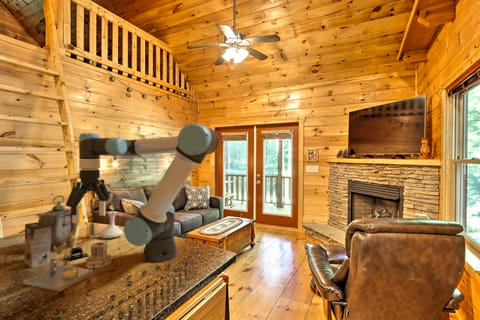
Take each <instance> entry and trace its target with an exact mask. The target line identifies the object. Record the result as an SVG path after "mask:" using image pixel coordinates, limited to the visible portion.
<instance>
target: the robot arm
mask: <svg viewBox="0 0 480 320" xmlns="http://www.w3.org/2000/svg"><path fill="white" fill-rule="evenodd" d="M219 145H220V137H219V135H218V133H217V132H216V131H215V130H214V129H212V128H210V127H207V126H205V125H203V124H200V123H190V124H187V125H185V126H184V127H183V128H182V129H181V130H180V131H179V133H178V134H177V135H175V136H174V135H172V136H161V137H149V138H137V139H136V138H135V139H124V138H123V137H114V136H113V137H101V136H100V134H99V133H94V132H82V133H80V134H79V138H78V154H79V155H78V157H79V158H78V159H79V160H78V161H79V163H78V167H79V171H78V176H79V177H78V178H79V180H80V181H73V184H72V189H71V191H70V193H69V196H68V198H67V201H66V203H65V206H66V207H69V208H70V209H71V215H72V223H77V224H80V206H79V204H80V203H81V201H82V199H83V198H84V196H86V194H87V193H88V192H94V194H95V195H96V196H97V197H98V198H99V201H98V215H99V216H100V217H101V216H104V217H105V216H106V209H107V206H106V201H108V199H109V198H110V196H109V194H110V193H109V191H108V189H107V187H106V184H105V179H100V176H101V173H100V172H101V171H100V168H101V163H100V161H101V158H100V157H101V156H105V157H107V156H108V157H109V156H112V157H117V156H118V157H120V156H121V157H125V156H126V157H137V156H147V155H149V156H150V155H162V154H163V155H164V154H175V156H174V158H173V160H172V161H171V163H170V164H169V166H168V167H167V168H166V171H165V172H164V174H163V176H162V178H161V179H160V181H159V182H158V184H157V186H156V188H155V190H154V191H153V192H152V194H151V196H150V198H149V199H148V201H147V202H146V203H144V204H142V205H140V207H139V208H138V209H137V211H136V213H135V214H134V216H131V217H129V218H128V219H127V220H126V221H125V223H124V225H123V234H124V237H125V239H126V240H127V242H129V243H130V244H131V245H133V246H135V247H142V246H144V248H143V251H142V258H143V259H144V260H145V261H147V262H157V263H158V262H160V263H161V262H166V261H169V260H172V259H174V258H176V257H177V256H178V247H177V243H176V239H175V216H176V213H175V207H174V206H173V205H172V204H173V203H174V201H175V199H176V198H177V196H178V195H179V193H180V191H181V189H182V188H183V186H184V185H185V183H186V181H187V180H188V178H189V177H190V175H191V174H192V172H193V170H194V169H195V167H196V166H199V165H201V164H203V161H204V160H205V158H206V156H208V155H212V154H213V153H215V152H216V151H217V150H218V148H219Z"/></svg>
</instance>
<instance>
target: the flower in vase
mask: <svg viewBox="0 0 480 320" xmlns="http://www.w3.org/2000/svg"><path fill="white" fill-rule="evenodd" d="M108 194H109V196H110V198H109V199H108V201H106V207H107V206H108V204H109V203H110V206H109V209H110V210H111V211H107V214H108V218H109V225H108V226H107V228H105V229H104V230H102V232H100V233H99V235H100V237H101V238H103V239H114V238H119V237H120V236H122V235H123V234H124V230H122V229H121V228H119V227H118V226H116V223H115V218H116V215H117V213H118V211H114V210H115V207H114V205H113V202H112V199H113V192H111V193H110V192H109V193H108Z"/></svg>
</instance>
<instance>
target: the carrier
mask: <svg viewBox="0 0 480 320" xmlns="http://www.w3.org/2000/svg"><path fill="white" fill-rule="evenodd" d="M91 275H93V270H92V269H90V268H83V267H77V266H69V265H63V264H57V259H56V258H52V259H50V263H49V268H48V269H46V270H43V271H42V272H39V273H36V274H34V275H32V276H29V277H28V278H26V279H23V281H22V282H23V283H22V284H23V286H29V287H35V288H38V289H40V288H41V289H44V290H45V289H46V290H52V291H56V292H62V291H64V290H66V289H68V288H69V287H71V286H73V285H75V284H76V283H78V282H79V281H82V280H83V279H84V280H85V278H87V277H89V276H91Z"/></svg>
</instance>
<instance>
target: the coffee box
mask: <svg viewBox="0 0 480 320" xmlns="http://www.w3.org/2000/svg"><path fill="white" fill-rule="evenodd" d="M51 244H52V243H51V225H49V224H47V223H45V222H39V221H38V222H32V223H31V222H30V223H25V224H24V263H25V264H26V265H28V266H29V267H30V268H32V269H34V268H37V267H40V266H44V265H48V264H50V260H51V250H52V246H51Z"/></svg>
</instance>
